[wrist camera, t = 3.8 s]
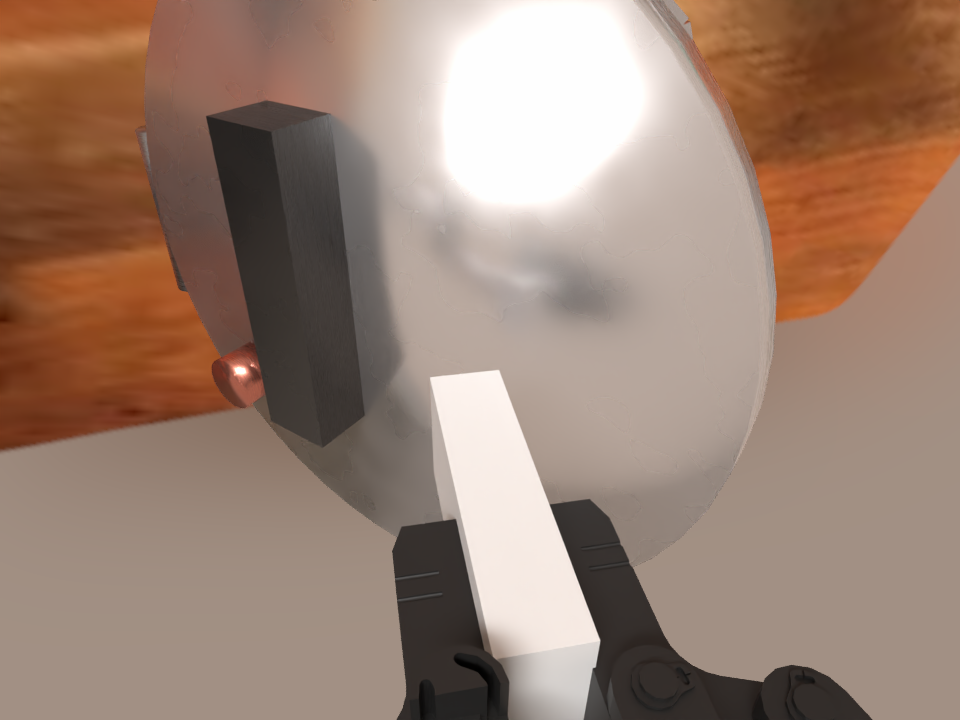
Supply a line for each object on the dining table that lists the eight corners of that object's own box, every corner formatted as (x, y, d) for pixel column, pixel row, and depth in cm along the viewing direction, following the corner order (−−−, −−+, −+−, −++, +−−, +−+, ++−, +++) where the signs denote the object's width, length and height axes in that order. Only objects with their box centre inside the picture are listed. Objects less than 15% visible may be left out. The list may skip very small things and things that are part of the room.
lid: (938, -170, 10) (911, -191, 8) (683, 662, 22) (644, 747, 19) (91, -143, 20) (-26, -148, 18) (234, 419, 32) (174, 457, 29)
